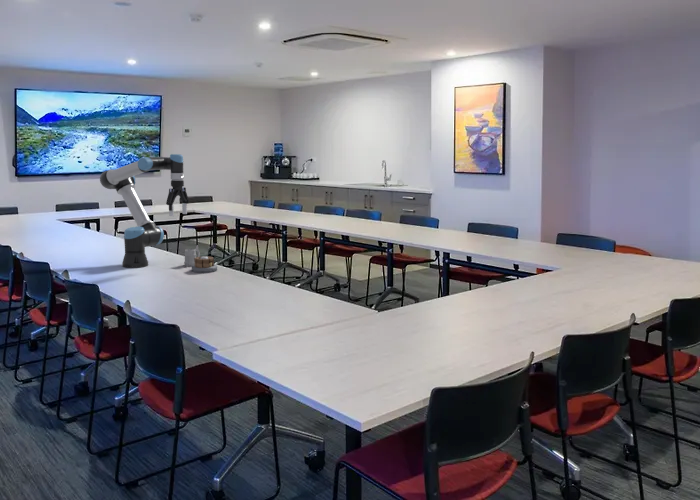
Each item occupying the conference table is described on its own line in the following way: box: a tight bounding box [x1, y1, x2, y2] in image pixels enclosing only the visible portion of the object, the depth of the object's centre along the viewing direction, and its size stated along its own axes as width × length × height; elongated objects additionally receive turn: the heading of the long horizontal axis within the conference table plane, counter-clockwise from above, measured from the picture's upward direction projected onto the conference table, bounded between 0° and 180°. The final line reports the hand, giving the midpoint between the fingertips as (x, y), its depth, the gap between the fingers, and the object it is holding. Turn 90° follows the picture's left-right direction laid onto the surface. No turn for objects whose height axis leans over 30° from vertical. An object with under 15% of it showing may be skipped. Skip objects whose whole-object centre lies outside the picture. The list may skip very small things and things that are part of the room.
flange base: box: [191, 256, 218, 274], centre depth 375 cm, size 15×15×8 cm
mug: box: [183, 244, 201, 267], centre depth 392 cm, size 8×12×12 cm, turn 148°
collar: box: [194, 255, 215, 268], centre depth 375 cm, size 11×11×5 cm
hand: (178, 215), depth 382 cm, fingers open, 13 cm apart
